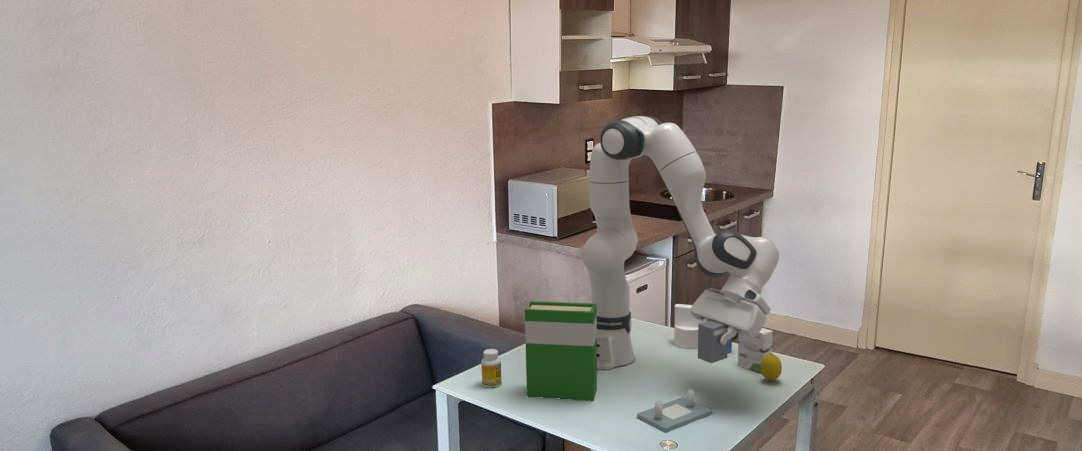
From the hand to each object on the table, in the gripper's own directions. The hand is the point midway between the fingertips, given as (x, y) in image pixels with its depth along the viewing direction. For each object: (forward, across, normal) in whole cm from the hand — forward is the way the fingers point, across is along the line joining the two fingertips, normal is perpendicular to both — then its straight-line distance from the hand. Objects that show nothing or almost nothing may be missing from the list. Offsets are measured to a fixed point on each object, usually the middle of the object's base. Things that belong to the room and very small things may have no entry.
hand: (711, 340), depth 199 cm
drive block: (+3, 0, +4) cm, 5 cm away
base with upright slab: (-7, -33, +32) cm, 47 cm away
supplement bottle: (+38, -45, -14) cm, 61 cm away
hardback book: (+30, -29, -5) cm, 42 cm away
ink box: (-7, -9, +32) cm, 34 cm away
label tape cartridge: (-8, -22, +32) cm, 40 cm away
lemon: (-4, 0, +29) cm, 29 cm away
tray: (+20, -1, +4) cm, 21 cm away
